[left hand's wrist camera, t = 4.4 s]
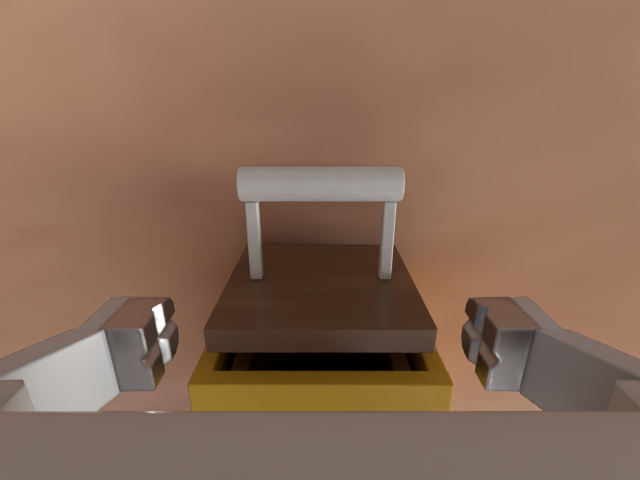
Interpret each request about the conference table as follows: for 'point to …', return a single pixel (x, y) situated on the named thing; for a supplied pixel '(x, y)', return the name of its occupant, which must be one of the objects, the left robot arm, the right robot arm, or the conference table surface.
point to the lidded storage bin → (320, 387)
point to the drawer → (320, 283)
